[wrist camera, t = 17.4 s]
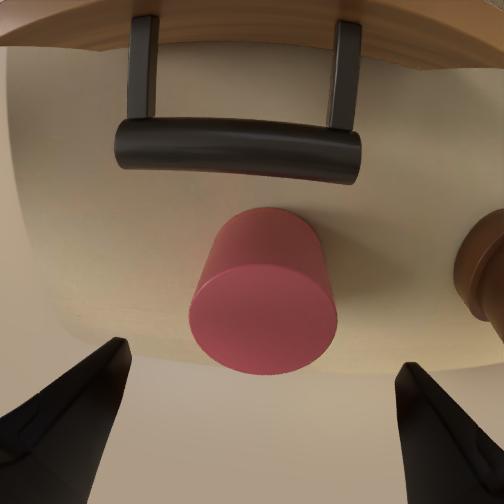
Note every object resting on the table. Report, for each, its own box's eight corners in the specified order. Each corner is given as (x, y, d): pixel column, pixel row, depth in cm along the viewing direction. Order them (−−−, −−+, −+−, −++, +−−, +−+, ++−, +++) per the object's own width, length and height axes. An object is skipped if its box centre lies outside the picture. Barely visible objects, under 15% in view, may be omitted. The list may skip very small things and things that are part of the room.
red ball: (257, 318, 17) (250, 390, 13) (190, 248, 15) (158, 312, 11) (341, 269, 15) (362, 338, 11) (278, 184, 14) (280, 233, 9)
